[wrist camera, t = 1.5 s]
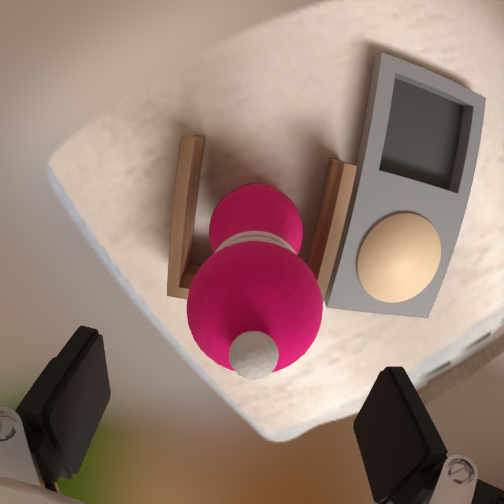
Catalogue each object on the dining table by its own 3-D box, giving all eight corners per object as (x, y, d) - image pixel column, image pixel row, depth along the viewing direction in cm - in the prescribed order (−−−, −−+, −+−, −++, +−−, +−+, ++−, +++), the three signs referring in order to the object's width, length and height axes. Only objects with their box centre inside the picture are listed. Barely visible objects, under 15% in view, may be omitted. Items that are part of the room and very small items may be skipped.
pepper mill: (224, 170, 27) (154, 250, 9) (304, 187, 28) (393, 297, 9) (209, 246, 30) (146, 413, 11) (285, 261, 30) (318, 440, 12)
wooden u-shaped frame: (340, 160, 27) (357, 166, 22) (310, 291, 31) (318, 318, 27) (194, 135, 26) (181, 136, 22) (179, 271, 31) (166, 295, 26)
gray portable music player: (474, 98, 24) (487, 98, 22) (420, 309, 32) (429, 319, 30) (373, 56, 23) (382, 51, 21) (323, 297, 32) (327, 309, 30)
